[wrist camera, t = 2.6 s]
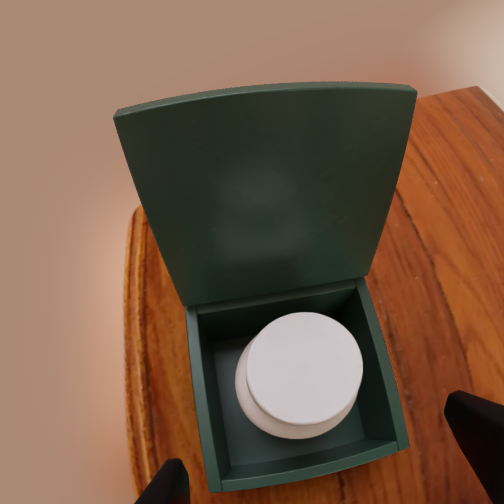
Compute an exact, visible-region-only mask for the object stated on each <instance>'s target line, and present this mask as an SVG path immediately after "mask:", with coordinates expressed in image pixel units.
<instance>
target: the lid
mask: <svg viewBox="0 0 504 504" xmlns="http://www.w3.org/2000/svg"><path fill="white" fill-rule="evenodd" d="M416 98H417V91H416V90H415V89H414V88H412V87H410V86H409V85H403V84H389V83H372V82H297V83H280V84H279V83H278V84H265V85H253V86H244V87H235V88H227V89H219V90H212V91H205V92H199V93H193V94H187V95H181V96H176V97H171V98H166V99H161V100H156V101H151V102H147V103H143V104H138V105H134V106H130V107H126V108H122V109H118V110H117V111H116V113H115V115H114V116H113V120H114V123H115V126H116V130H117V133H118V136H119V139H120V142H121V145H122V149H123V151H124V154H125V158H126V161H127V164H128V167H129V170H130V173H131V176H132V178H133V181H134V184H135V187H136V190H137V193H138V196H139V198H140V201H141V204H142V207H143V209H144V212H145V215H146V217H147V220H148V223H149V225H150V228H151V230H152V233H153V236H154V238H155V241H156V243H157V246H158V248H159V251H160V253H161V256H162V258H163V261H164V263H165V265H166V268H167V270H168V273H169V275H170V277H171V280H172V282H173V284H174V287H175V289H176V291H177V294H178V296H179V298H180V301H181V303H182V305H183V306H190V305H197V304H204V303H211V302H218V301H224V300H231V299H237V298H244V297H250V296H256V295H262V294H269V293H275V292H280V291H286V290H292V289H298V288H304V287H309V286H315V285H320V284H326V283H331V282H336V281H342V280H347V279H352V278H357V277H362V276H367V275H368V272H369V269H370V267H371V264H372V261H373V258H374V255H375V252H376V249H377V246H378V243H379V240H380V237H381V234H382V231H383V228H384V225H385V222H386V219H387V215H388V212H389V209H390V205H391V202H392V199H393V195H394V192H395V188H396V184H397V181H398V177H399V173H400V169H401V166H402V162H403V158H404V154H405V150H406V145H407V141H408V137H409V132H410V128H411V123H412V118H413V113H414V108H415V103H416Z"/></svg>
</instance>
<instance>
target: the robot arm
mask: <svg viewBox="0 0 504 504" xmlns="http://www.w3.org/2000/svg"><path fill="white" fill-rule="evenodd" d="M444 415H445V418H446V420H447V422H448V424H449V426H450V428H451V430H452V432H453V434H454V437H455V439H456V441H457V443H458V445H459V447H460V449H461V450H462V452H463V454H464V455H465V457H466V458H467V460H468V462H469V463H470V465H471V467H472V468H473V470H474V472H475V473H476V475H477V477H478V478H479V480H480V482H481V484H482V485H483V487H484V489H485V490H486V492H487V494H488V496H489V497H490V499H491V501H492V503H493V504H504V406H503V405H500V404H497V403H495V402H492V401H489V400H486V399H483V398H480V397H477V396H475V395H472V394H469V393H466V392H464V391H461V390H457V391H455V392H452V393H450V394H449V396H448V398H447V402H446V405H445V408H444ZM134 504H190V489H189V476H188V473H187V471H186V469H185V467H184V465H183V462H182V461H181V459H179V458H174V459H167V460H166V461H165V463H164V464H163V465H162V467H161V468H160V469H159V471H158V472H157V474H156V475H155V476H154V478H153V479H152V480H151V482H150V483H149V485H148V486H147V487H146V489H145V490H144V491H143V493H142V494H141V495H140V497H139V498H138V499H137V501H136V502H135V503H134Z"/></svg>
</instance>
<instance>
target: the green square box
mask: <svg viewBox="0 0 504 504" xmlns="http://www.w3.org/2000/svg"><path fill="white" fill-rule="evenodd" d="M299 312H313V313H318V314H321V315H325V316H327V317H330V318H332V319H334V320H335V321H337V322H339V323H340V324H341V325H343V326H344V327H345V328H346V329H347V330H348V331H349V332H350V333H351V334H352V336H353V338H354V339H355V341H356V343H357V344H358V347H359V349H360V352H361V356H362V361H363V374H362V380H361V383H360V387H359V389H358V393H357V397H356V399H355V402H354V404H353V406H352V408H351V410H350V411H349V413H348V414H347V415H346V416H345V418H344V419H343V420H342V421H341V422H340V423H339V424H337V425H336V426H335V427H334V428H332V429H330V430H329V431H327V432H325V433H323V434H321V435H318V436H315V437H311V438H305V439H288V438H282V437H277V436H274V435H271V434H269V433H267V432H265V431H263V430H261V429H260V428H258V427H257V426H256V425H254V424H253V423H252V422H251V421H250V420H249V419H248V418H247V416H246V415H245V414H244V412H243V410H242V408H241V406H240V404H239V401H238V398H237V394H236V389H235V374H236V368H237V365H238V361H239V359H240V357H241V354H242V353H243V351H244V349H245V348H246V346H247V345H248V344H249V343H250V341H251V340H252V339H253V338H254V337H256V336H257V335H258V334H259V333H260V332H261V330H262V329H264V328H265V327H266V326H267V325H268V324H270V323H271V322H272V321H274V320H276V319H278V318H280V317H282V316H285V315H288V314H292V313H299ZM185 317H186V328H187V339H188V349H189V359H190V368H191V376H192V385H193V393H194V401H195V408H196V416H197V423H198V429H199V436H200V443H201V449H202V455H203V461H204V467H205V472H206V478H207V484H208V489H209V492H210V493H217V492H228V491H238V490H247V489H255V488H262V487H268V486H274V485H280V484H286V483H291V482H296V481H301V480H306V479H310V478H314V477H319V476H323V475H327V474H331V473H334V472H338V471H342V470H345V469H349V468H352V467H355V466H359V465H362V464H365V463H368V462H371V461H374V460H377V459H380V458H383V457H386V456H388V455H391V454H394V453H396V452H398V451H402V450H404V449H407V448H409V447H410V445H409V440H408V435H407V430H406V425H405V421H404V416H403V411H402V407H401V403H400V398H399V394H398V390H397V386H396V382H395V378H394V374H393V370H392V367H391V363H390V359H389V356H388V352H387V348H386V345H385V341H384V338H383V335H382V331H381V328H380V324H379V321H378V318H377V315H376V311H375V308H374V305H373V302H372V299H371V296H370V293H369V290H368V287H367V284H366V281H365V278H364V276H362V277H357V278H352V279H347V280H342V281H336V282H331V283H326V284H320V285H315V286H309V287H304V288H298V289H292V290H286V291H280V292H275V293H269V294H262V295H256V296H250V297H244V298H237V299H231V300H224V301H218V302H211V303H204V304H197V305H190V306H185Z"/></svg>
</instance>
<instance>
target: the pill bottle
mask: <svg viewBox="0 0 504 504" xmlns="http://www.w3.org/2000/svg"><path fill="white" fill-rule="evenodd" d="M362 374H363V361H362V356H361V352H360V349H359V347H358V344H357V343H356V341H355V339H354V338H353V336H352V334H351V333H350V332H349V331H348V330H347V329H346V328H345V327H344V326H343V325H341V324H340V323H339V322H337V321H335V320H334V319H332V318H330V317H327V316H325V315H321V314H318V313H313V312H299V313H292V314H288V315H285V316H282V317H280V318H278V319H276V320H274V321H272V322H271V323H270V324H268V325H267V326H266V327H265V328H264V329H262V330H261V332H260V333H259V334H258V335H257V336H256V337H254V338H253V339H252V340H251V341H250V343H249V344H248V345H247V346H246V348H245V349H244V351H243V353H242V354H241V357H240V359H239V361H238V365H237V368H236V374H235V389H236V394H237V398H238V401H239V404H240V406H241V408H242V410H243V412H244V414H245V415H246V416H247V418H248V419H249V420H250V421H251V422H252V423H253V424H254V425H256V426H257V427H258V428H260V429H261V430H263V431H265V432H267V433H269V434H271V435H274V436H277V437H282V438H288V439H305V438H311V437H315V436H318V435H321V434H323V433H325V432H327V431H329V430H330V429H332V428H334V427H335V426H336V425H337V424H339V423H340V422H341V421H342V420H343V419H344V418H345V416H346V415H347V414H348V413H349V411H350V410H351V408H352V406H353V404H354V402H355V399H356V397H357V393H358V389H359V387H360V383H361V380H362Z"/></svg>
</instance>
